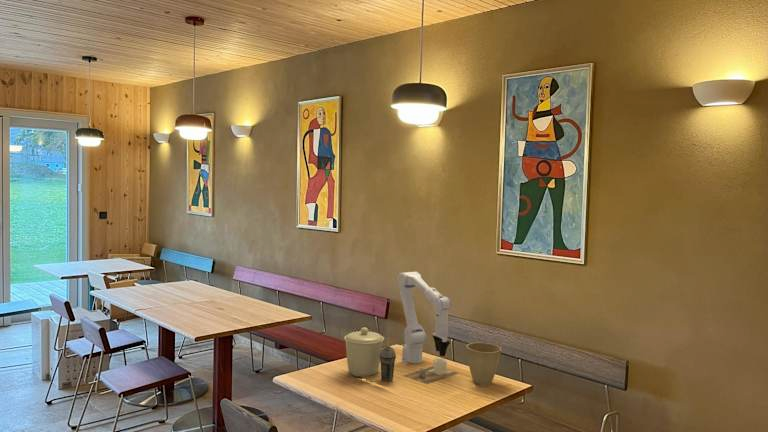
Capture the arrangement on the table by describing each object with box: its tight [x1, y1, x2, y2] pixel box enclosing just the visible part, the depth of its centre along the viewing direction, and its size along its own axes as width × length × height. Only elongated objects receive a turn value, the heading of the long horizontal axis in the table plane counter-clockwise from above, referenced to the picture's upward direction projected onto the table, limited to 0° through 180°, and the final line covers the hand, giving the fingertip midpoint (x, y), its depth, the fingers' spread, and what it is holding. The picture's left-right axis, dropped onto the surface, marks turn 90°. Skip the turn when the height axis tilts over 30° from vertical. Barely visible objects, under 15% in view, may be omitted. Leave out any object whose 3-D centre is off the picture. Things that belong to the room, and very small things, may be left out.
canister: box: [343, 326, 385, 378], centre depth 250 cm, size 18×18×21 cm
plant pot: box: [466, 342, 502, 387], centre depth 242 cm, size 15×15×16 cm
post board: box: [403, 366, 459, 385], centre depth 249 cm, size 14×22×5 cm, turn 135°
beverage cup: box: [379, 336, 397, 383], centre depth 240 cm, size 7×7×20 cm
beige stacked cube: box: [432, 358, 448, 373], centre depth 253 cm, size 5×5×5 cm
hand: (440, 353), depth 253 cm, fingers open, 7 cm apart
